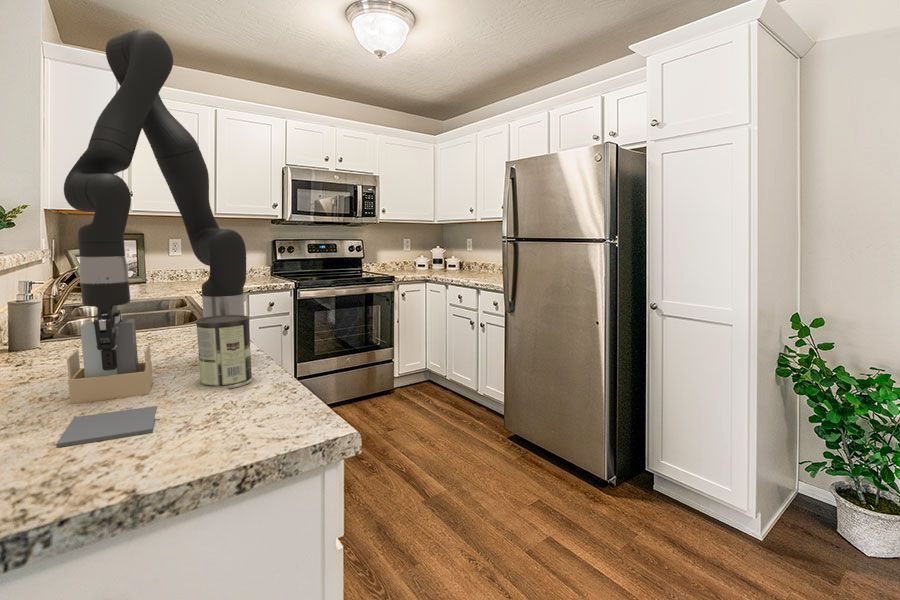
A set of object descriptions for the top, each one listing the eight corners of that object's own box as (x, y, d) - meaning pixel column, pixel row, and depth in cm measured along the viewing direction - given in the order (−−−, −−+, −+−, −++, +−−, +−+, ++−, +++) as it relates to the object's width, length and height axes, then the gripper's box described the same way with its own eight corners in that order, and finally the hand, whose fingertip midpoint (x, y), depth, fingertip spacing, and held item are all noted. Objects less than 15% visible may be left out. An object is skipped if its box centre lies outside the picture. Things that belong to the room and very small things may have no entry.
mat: (157, 408, 85) (157, 405, 85) (152, 432, 75) (152, 428, 75) (74, 420, 80) (74, 417, 79) (56, 447, 69) (56, 443, 69)
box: (139, 385, 97) (134, 318, 95) (137, 392, 92) (131, 322, 91) (91, 391, 93) (85, 321, 91) (86, 398, 89) (80, 325, 87)
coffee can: (226, 374, 108) (223, 313, 106) (262, 378, 105) (259, 316, 103) (188, 386, 98) (183, 320, 97) (226, 392, 95) (223, 323, 93)
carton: (152, 384, 100) (149, 342, 99) (149, 396, 92) (145, 352, 91) (81, 392, 94) (77, 348, 93) (70, 407, 86) (65, 359, 85)
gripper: (123, 282, 86) (131, 372, 88) (132, 276, 98) (138, 356, 100) (71, 283, 82) (80, 378, 84) (88, 278, 94) (95, 360, 97)
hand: (112, 365), depth 92 cm, fingers closed on box, 5 cm apart
